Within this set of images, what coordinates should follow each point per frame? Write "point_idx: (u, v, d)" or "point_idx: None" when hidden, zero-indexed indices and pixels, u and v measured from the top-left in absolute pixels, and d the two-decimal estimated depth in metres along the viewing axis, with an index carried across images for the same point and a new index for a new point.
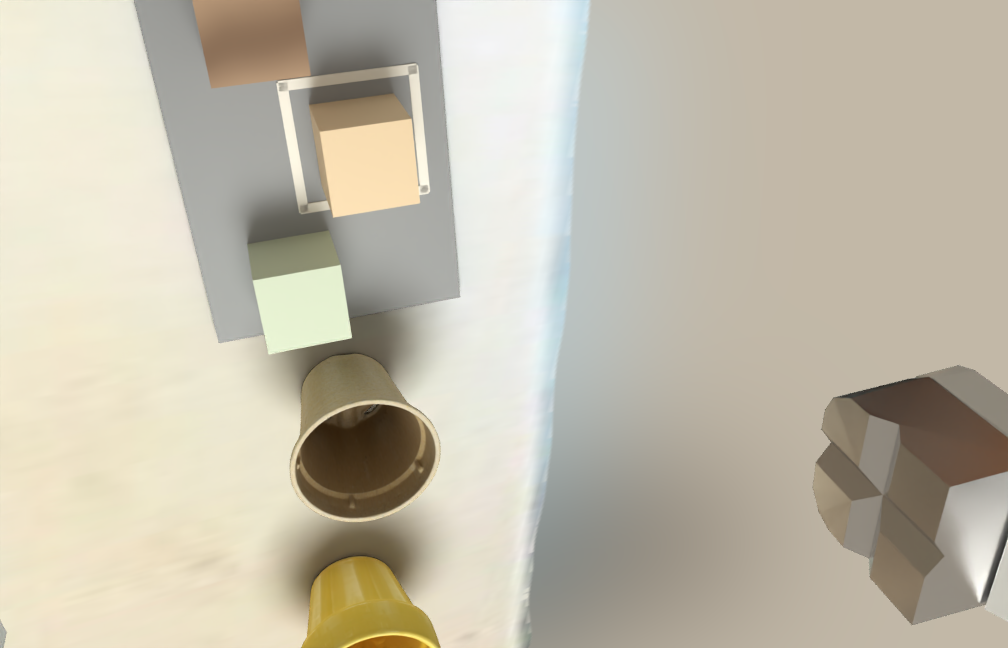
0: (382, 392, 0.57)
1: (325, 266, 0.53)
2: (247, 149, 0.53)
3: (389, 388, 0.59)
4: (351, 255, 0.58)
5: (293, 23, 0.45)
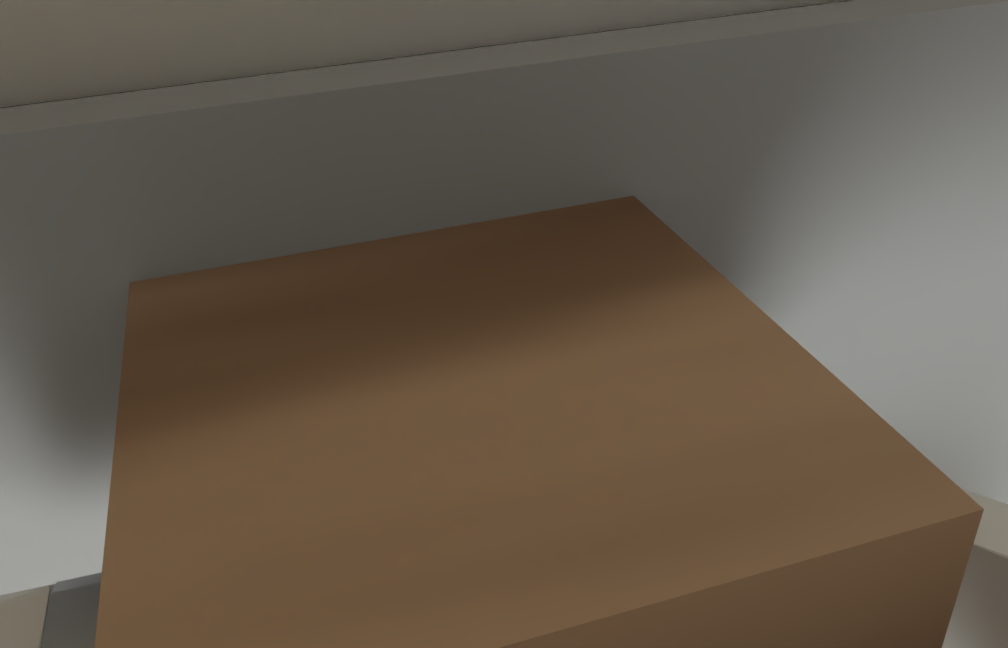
0: None
1: None
2: None
3: None
4: None
5: None
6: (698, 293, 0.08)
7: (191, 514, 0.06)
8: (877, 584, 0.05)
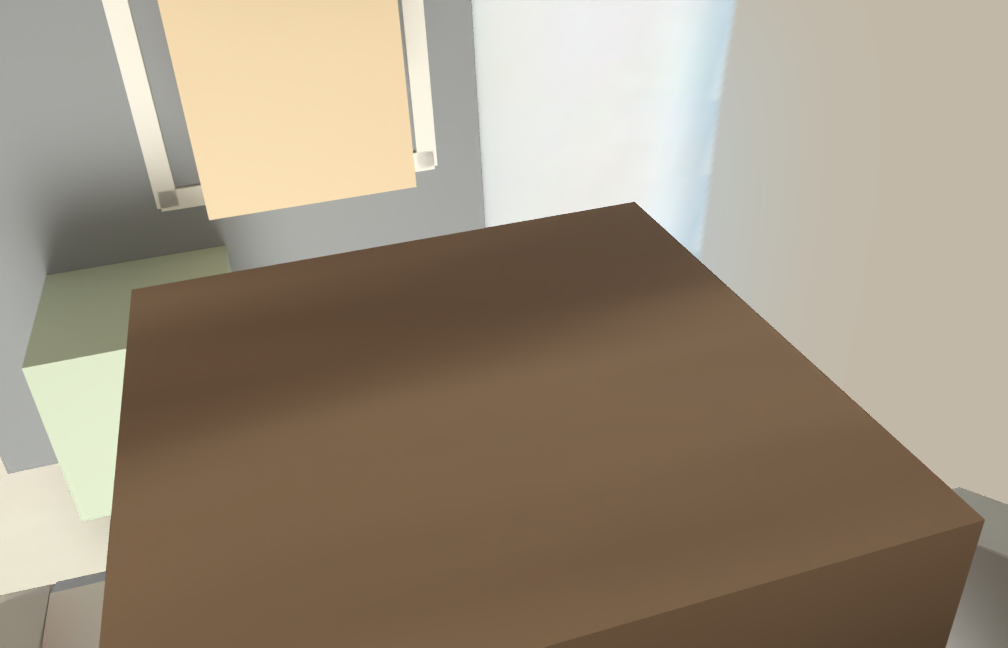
0: None
1: None
2: (21, 65, 0.23)
3: None
4: None
5: None
6: (700, 300, 0.08)
7: (193, 525, 0.06)
8: (879, 595, 0.05)
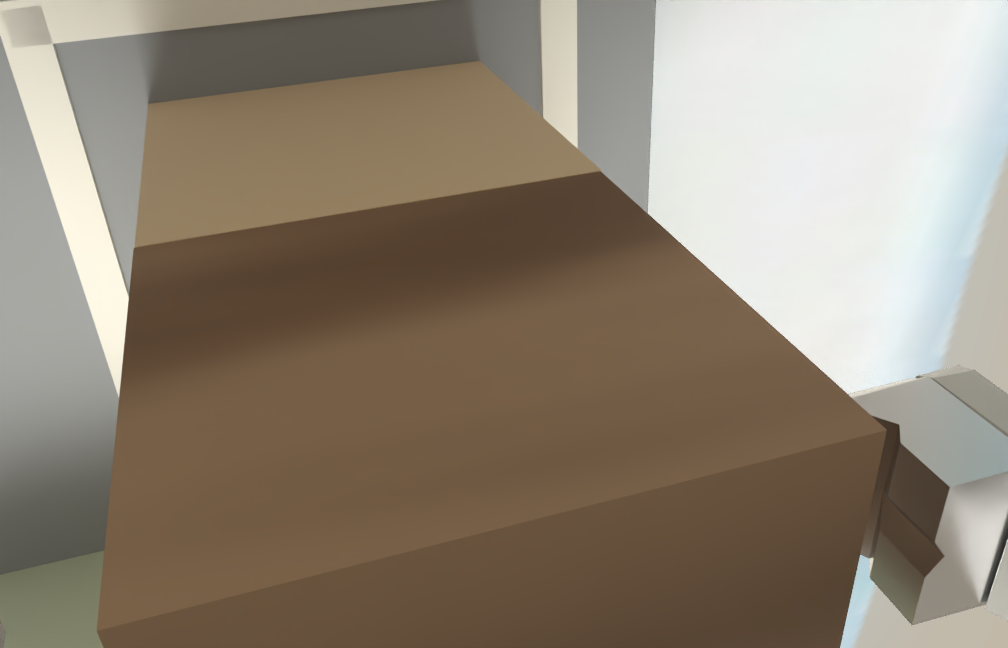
0: None
1: None
2: None
3: None
4: None
5: None
6: (653, 254, 0.08)
7: (190, 438, 0.06)
8: (794, 497, 0.06)
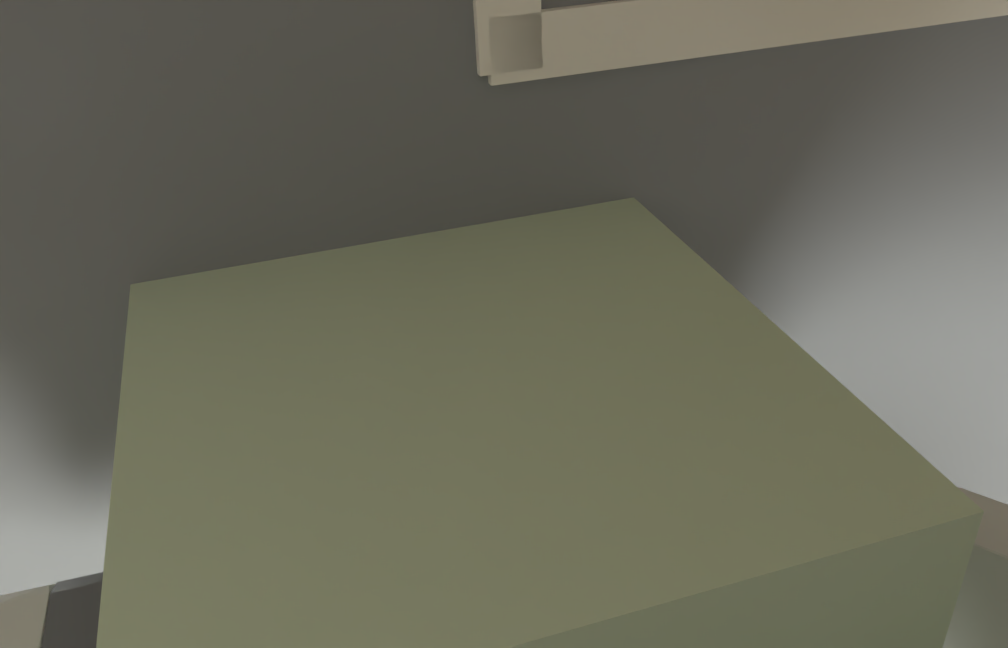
0: None
1: (835, 524, 0.05)
2: None
3: None
4: None
5: None
6: None
7: None
8: None
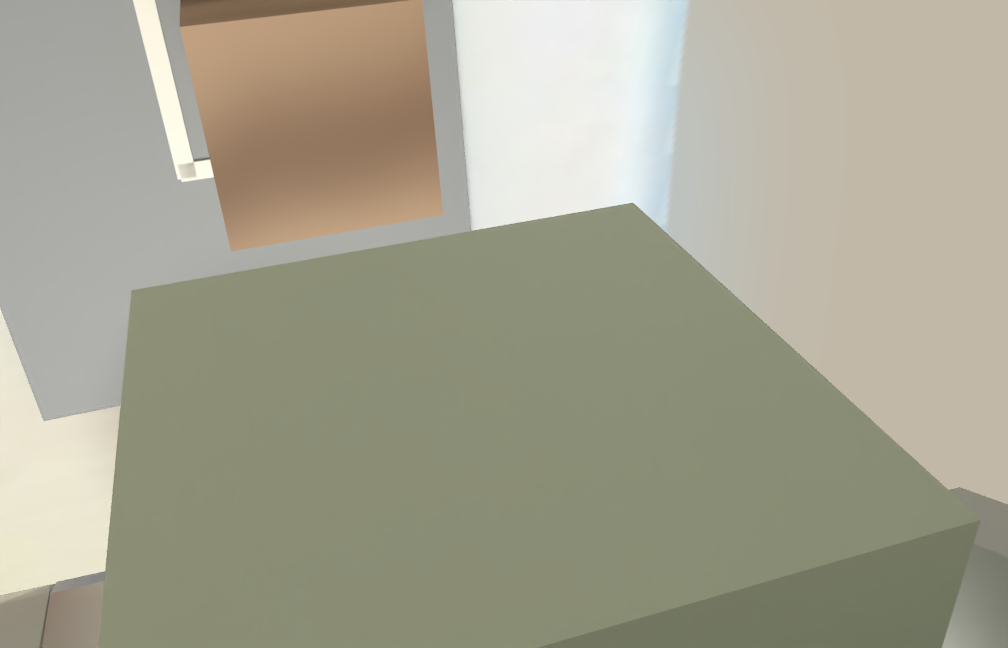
0: None
1: (833, 532, 0.05)
2: (62, 51, 0.27)
3: None
4: (282, 259, 0.32)
5: (412, 108, 0.20)
6: None
7: (204, 9, 0.20)
8: (394, 21, 0.19)
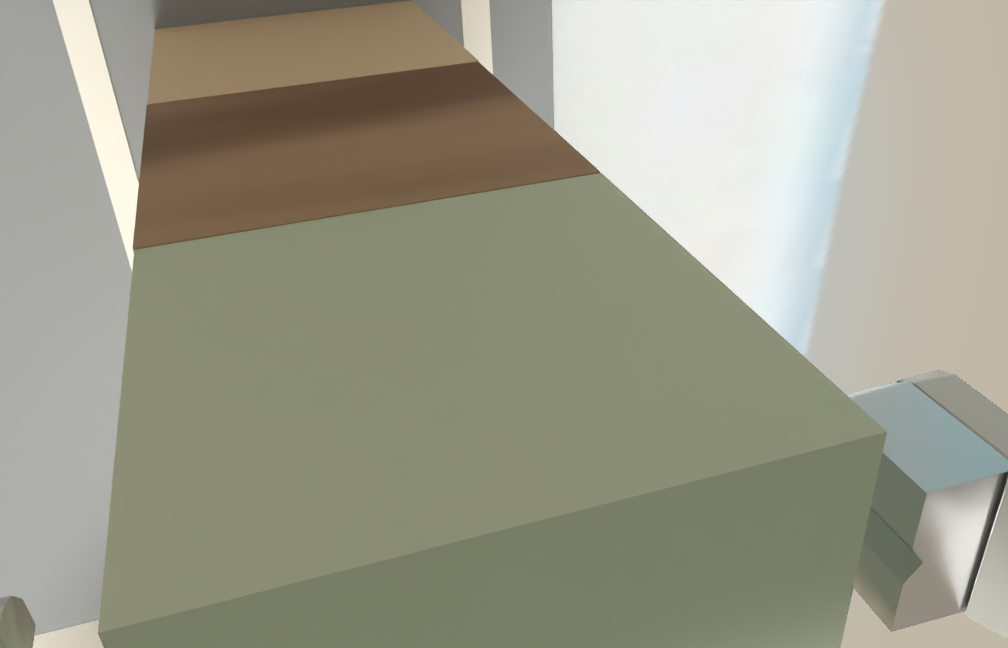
0: None
1: (754, 442, 0.06)
2: None
3: None
4: None
5: None
6: (496, 102, 0.13)
7: (184, 184, 0.10)
8: None
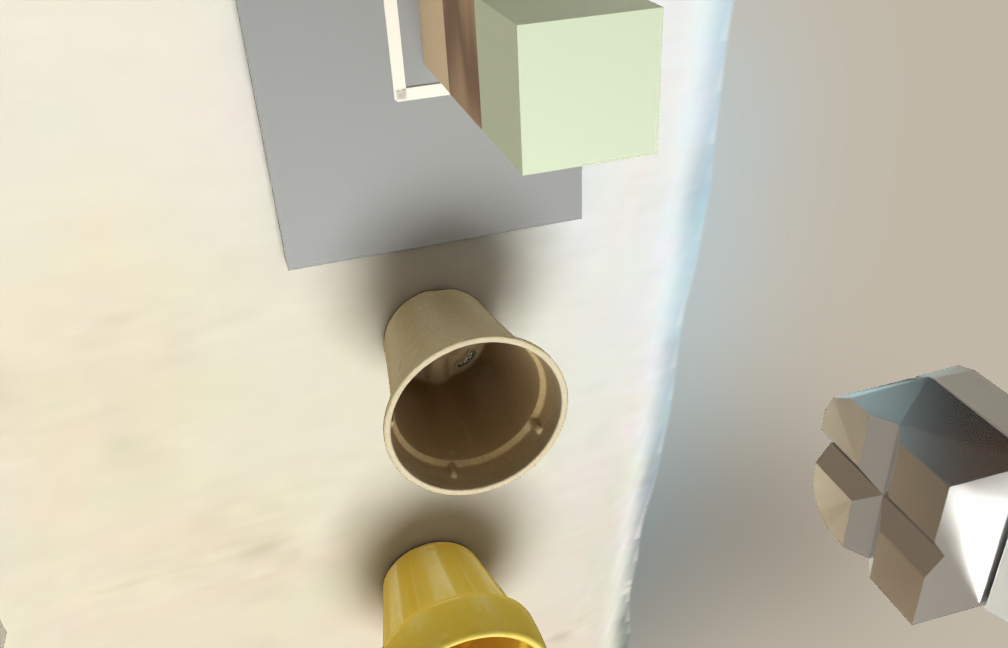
0: (496, 330, 0.45)
1: (636, 9, 0.29)
2: (333, 11, 0.41)
3: (501, 327, 0.47)
4: (454, 159, 0.46)
5: None
6: None
7: None
8: None
